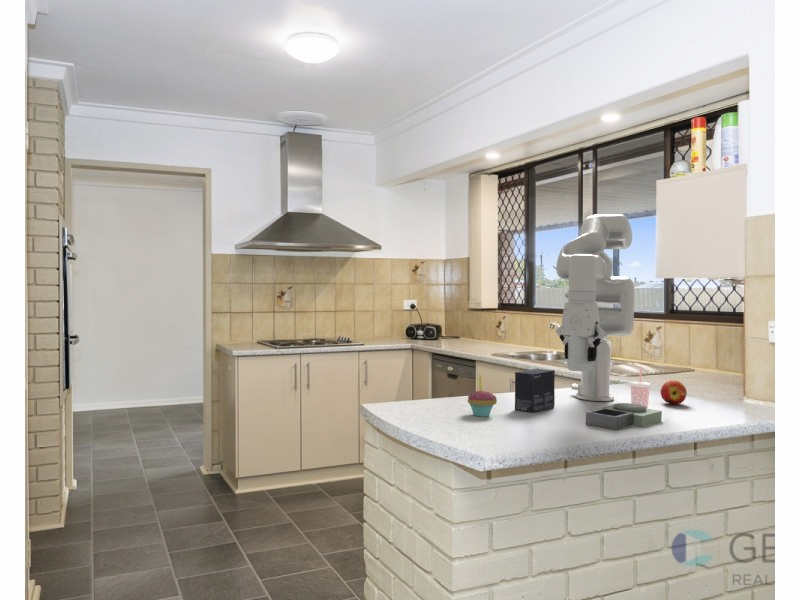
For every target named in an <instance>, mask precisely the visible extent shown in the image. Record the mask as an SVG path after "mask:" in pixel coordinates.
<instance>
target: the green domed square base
mask: <svg viewBox="0 0 800 600" xmlns="http://www.w3.org/2000/svg"><path fill="white" fill-rule="evenodd" d="M602 408H608V409H614V410H620V411H626V412H632V413H634V425H633V426H636V427H641V428H643V427H646V426H650V425H653V424H657V423H660V422H662V416H663V411H662V410H658V409H653V408H652V409H651V408H648V409H646V406H643V405H638V404H631V402H629V403H627V402H618V403H614V404H610V405H606V406H600V407H596V409H595V410H597V409H602Z"/></svg>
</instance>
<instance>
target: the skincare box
mask: <svg viewBox="0 0 800 600" xmlns="http://www.w3.org/2000/svg"><path fill="white" fill-rule="evenodd" d="M592 340H593V339H592ZM588 347H590V345H589V342H588V340H587V338H581V337H577V330H576V329H571V336H568V359H567V370H568V371H572V372H581V371H592V361H588Z"/></svg>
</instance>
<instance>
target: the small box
mask: <svg viewBox="0 0 800 600" xmlns="http://www.w3.org/2000/svg"><path fill="white" fill-rule="evenodd" d="M555 377H556V371H555V370H553V369H545V368H544V369H543V368H542V369H541V368H532V369H527V370H520V371H516V372H514V411H519V412H524V413H525V412H526V413H531V414H535V413H538V412H543V411H546V410H551V409H554V408H555V398H556V397H555V396H556V395H555V379H556V378H555Z"/></svg>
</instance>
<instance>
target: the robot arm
mask: <svg viewBox="0 0 800 600" xmlns="http://www.w3.org/2000/svg"><path fill="white" fill-rule="evenodd" d="M632 241H633V231H632V227H631V223H630V221H629V219H628V217H627V216H625V215H624V214H617V213H614V214H593V215H589V216H588V217H586V218H585V220H584V221H583V223H582V226H581V228H580V229H579V231H578V237H576V238H574V239H573V240H570V241H569V242H567V243H566V244H564V245H563V246H562V247H561V249H560V252H559V253H558V256H557V260H556V261H557V262H556V267H555V269H556V274H557V276H558V277H559V279H561V280H564V281H568V288H567V289H568V291H567V293H566V292H565V294H564V297H565V298H567V301H565V303H564V307H563V311H562V318H561V325H560V326H559V327H558V328H557V329H556V330H555V332H556V334H557V336H558V337H559V339H560V341H561V342H562V344H563V345H564V350H563V351H564V354H563V355H564V359H566V360H568V336H571V329H576V330H577V337H581V338H587V340H588V342H589V345H590V347H588V361H592V371H580V383H577V384H576V383H572V385H571V388H570V389H571V390H573V391H577V393H576V394H575V397H576V398H577V399H580V400H584V401H592V402H610V401H614V400H615V396H614V395H612V394H610V381H611V379H610V377H611V373H610V372H611V346H610V344H609V343H608V342H607V340H606V337H608V336H612V337H613V336H618V337H626V336H629V335H631V334H632V332H633V329H634V322H635V321H634V318H635V317H634V316H635V284H634V282H633V280H632V278H631V277H627V276H613V261H612V260H611V258H610V257H609V255H608V254H607V253H606V252H605V250H626V249H628V248H630V246H631V244H632ZM598 304H600V305H601V304H603V305H618V306H619V307H607V306H606V307H604V306H599V305H598ZM592 339H593V340H592Z"/></svg>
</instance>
